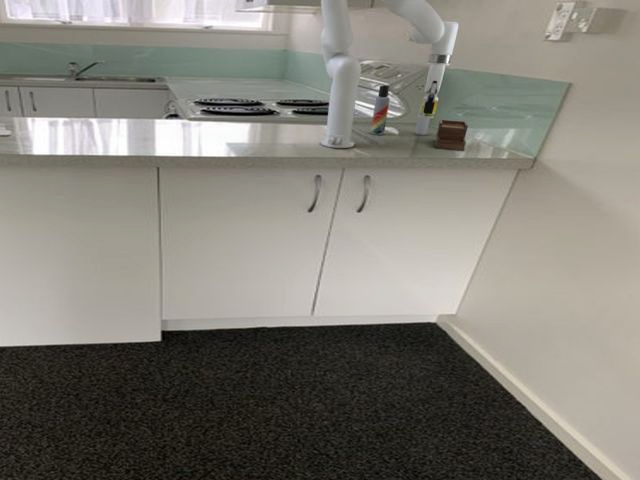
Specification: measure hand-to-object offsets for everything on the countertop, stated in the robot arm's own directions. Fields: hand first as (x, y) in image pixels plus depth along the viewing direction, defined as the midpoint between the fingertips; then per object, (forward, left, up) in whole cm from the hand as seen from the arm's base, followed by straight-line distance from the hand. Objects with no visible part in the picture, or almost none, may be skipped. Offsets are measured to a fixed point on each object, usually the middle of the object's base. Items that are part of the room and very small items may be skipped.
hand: (427, 111), depth 160 cm
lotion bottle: (+15, +19, -13) cm, 27 cm away
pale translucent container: (+23, +1, -13) cm, 27 cm away
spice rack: (+5, -10, -13) cm, 17 cm away
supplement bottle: (0, 0, -2) cm, 2 cm away
